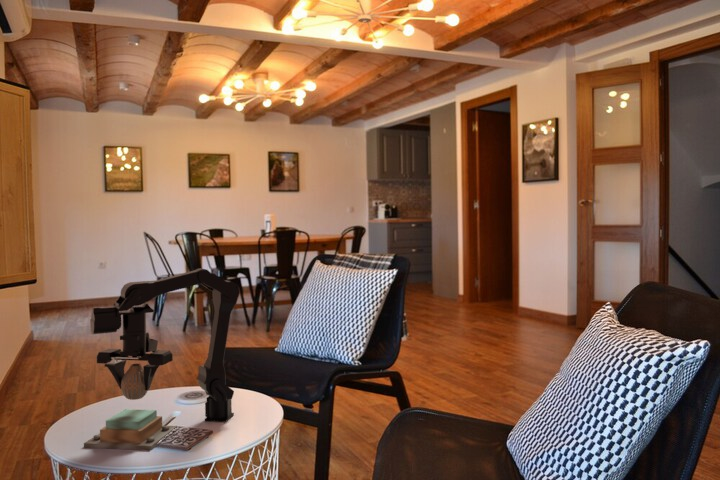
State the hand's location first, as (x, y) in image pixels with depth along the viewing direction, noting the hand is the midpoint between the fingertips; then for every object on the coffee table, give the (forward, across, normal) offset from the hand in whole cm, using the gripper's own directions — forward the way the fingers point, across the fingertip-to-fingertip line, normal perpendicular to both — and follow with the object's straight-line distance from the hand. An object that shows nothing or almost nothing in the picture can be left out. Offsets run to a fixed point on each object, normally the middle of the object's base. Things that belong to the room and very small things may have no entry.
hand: (134, 389), depth 148 cm
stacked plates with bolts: (+12, 0, +2) cm, 12 cm away
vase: (+2, 0, 0) cm, 2 cm away
